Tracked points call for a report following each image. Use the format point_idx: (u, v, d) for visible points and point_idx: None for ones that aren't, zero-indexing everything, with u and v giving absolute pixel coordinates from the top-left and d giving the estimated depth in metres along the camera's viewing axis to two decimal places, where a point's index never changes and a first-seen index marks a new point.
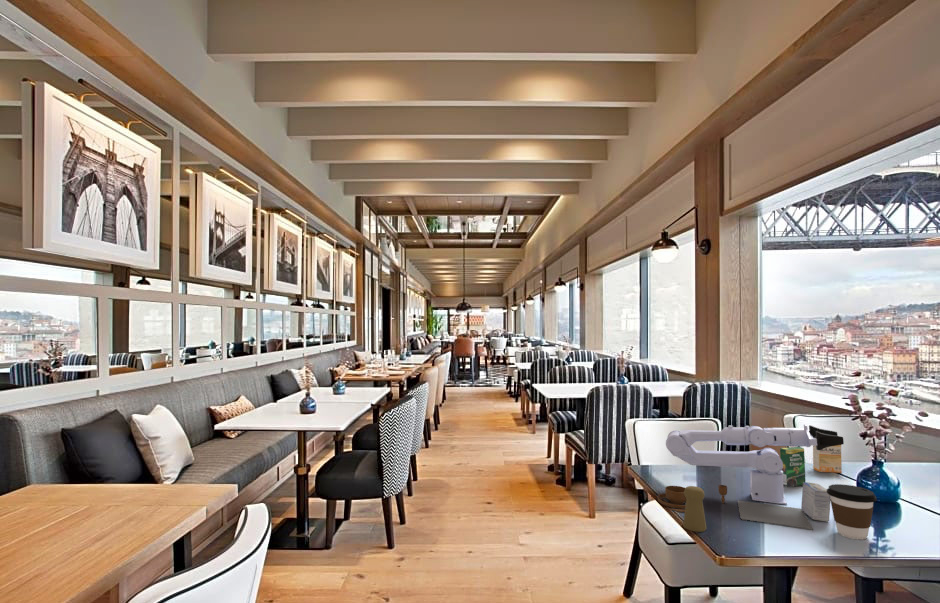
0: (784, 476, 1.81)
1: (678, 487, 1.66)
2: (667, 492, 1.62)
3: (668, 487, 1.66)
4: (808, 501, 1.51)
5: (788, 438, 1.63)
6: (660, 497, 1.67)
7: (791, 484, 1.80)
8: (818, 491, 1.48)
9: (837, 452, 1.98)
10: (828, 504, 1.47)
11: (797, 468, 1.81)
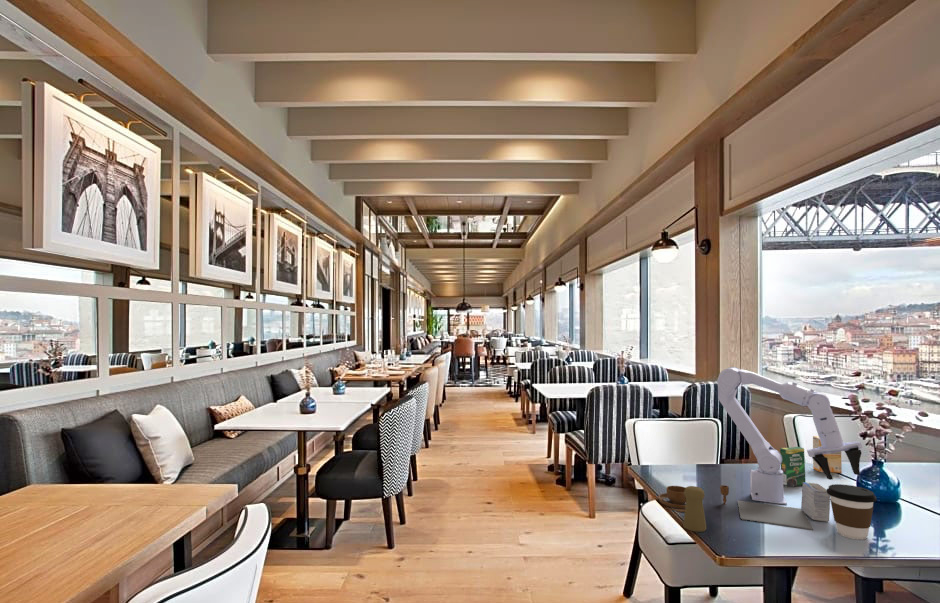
0: (784, 476, 1.81)
1: (679, 487, 1.66)
2: (668, 492, 1.62)
3: (669, 487, 1.66)
4: (808, 501, 1.51)
5: (827, 431, 1.56)
6: (661, 497, 1.67)
7: (791, 484, 1.80)
8: (818, 492, 1.48)
9: (837, 452, 1.98)
10: (828, 504, 1.47)
11: (797, 468, 1.81)
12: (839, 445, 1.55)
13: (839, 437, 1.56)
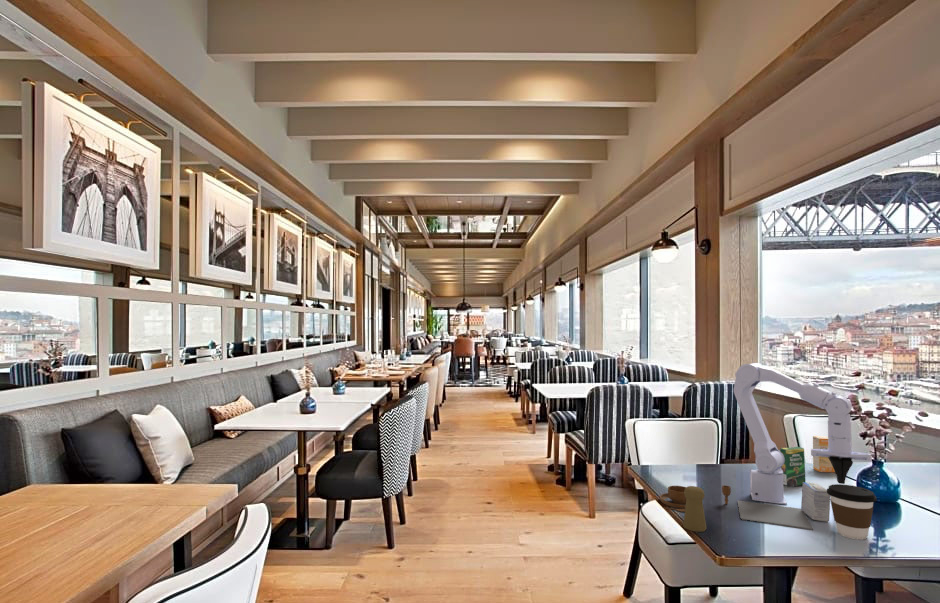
0: (784, 476, 1.81)
1: (681, 487, 1.66)
2: (669, 492, 1.62)
3: (671, 487, 1.66)
4: (808, 501, 1.51)
5: (837, 436, 1.52)
6: (663, 497, 1.67)
7: (791, 484, 1.80)
8: (818, 492, 1.48)
9: None
10: (828, 504, 1.47)
11: (797, 468, 1.81)
12: (845, 452, 1.51)
13: (848, 445, 1.51)
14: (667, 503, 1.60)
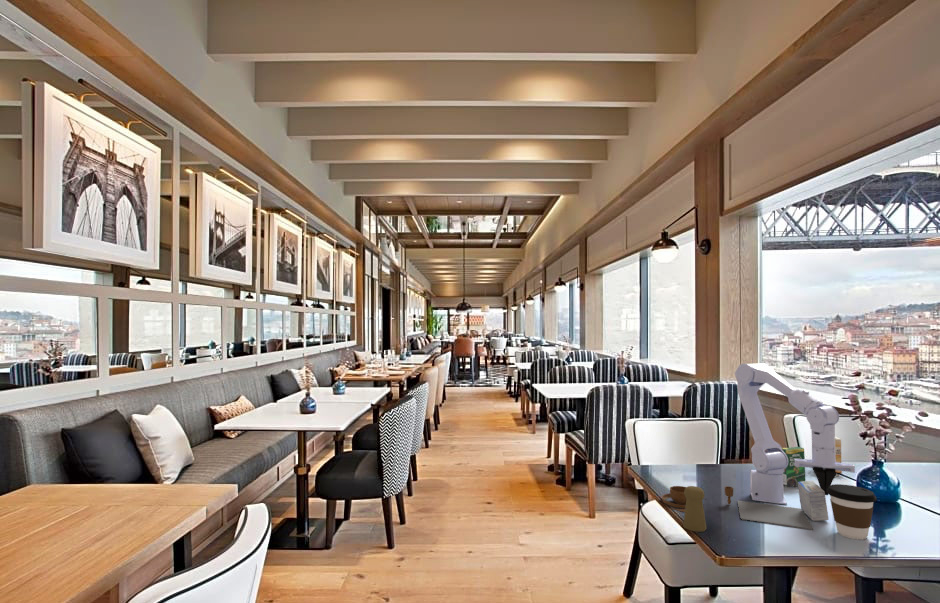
0: (784, 476, 1.81)
1: (683, 487, 1.66)
2: (671, 492, 1.63)
3: (673, 487, 1.66)
4: (805, 502, 1.51)
5: (817, 446, 1.50)
6: (665, 497, 1.67)
7: (791, 484, 1.80)
8: (812, 493, 1.48)
9: (837, 452, 1.98)
10: (824, 503, 1.47)
11: (797, 468, 1.81)
12: (828, 463, 1.48)
13: (831, 456, 1.48)
14: (669, 503, 1.60)
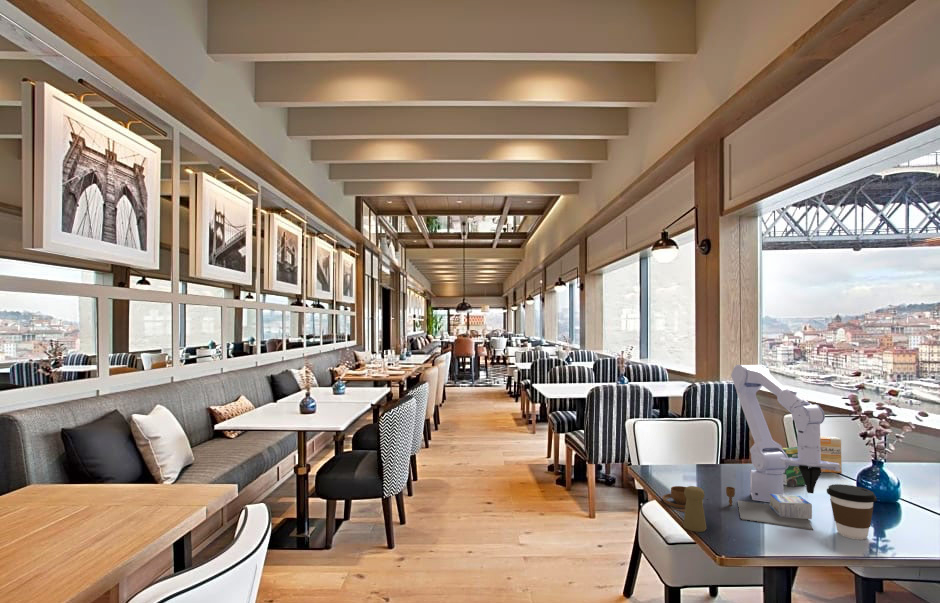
0: (784, 476, 1.81)
1: (684, 488, 1.66)
2: (672, 492, 1.62)
3: (674, 487, 1.66)
4: None
5: (801, 444, 1.52)
6: (666, 497, 1.67)
7: (791, 484, 1.80)
8: (781, 513, 1.50)
9: (837, 452, 1.98)
10: (793, 504, 1.49)
11: (797, 468, 1.81)
12: (813, 462, 1.50)
13: (816, 454, 1.50)
14: (669, 503, 1.60)
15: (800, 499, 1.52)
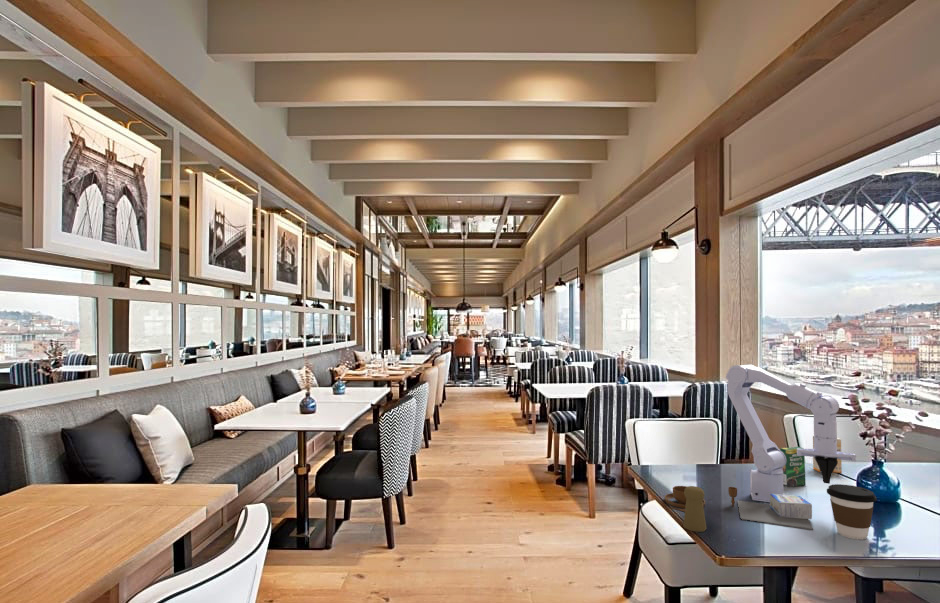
0: (784, 476, 1.81)
1: None
2: (674, 492, 1.63)
3: (676, 487, 1.66)
4: None
5: (821, 435, 1.53)
6: (668, 497, 1.67)
7: (791, 484, 1.80)
8: (781, 513, 1.50)
9: None
10: (793, 504, 1.49)
11: (797, 468, 1.81)
12: (829, 452, 1.52)
13: (833, 445, 1.52)
14: (671, 503, 1.60)
15: (800, 499, 1.52)
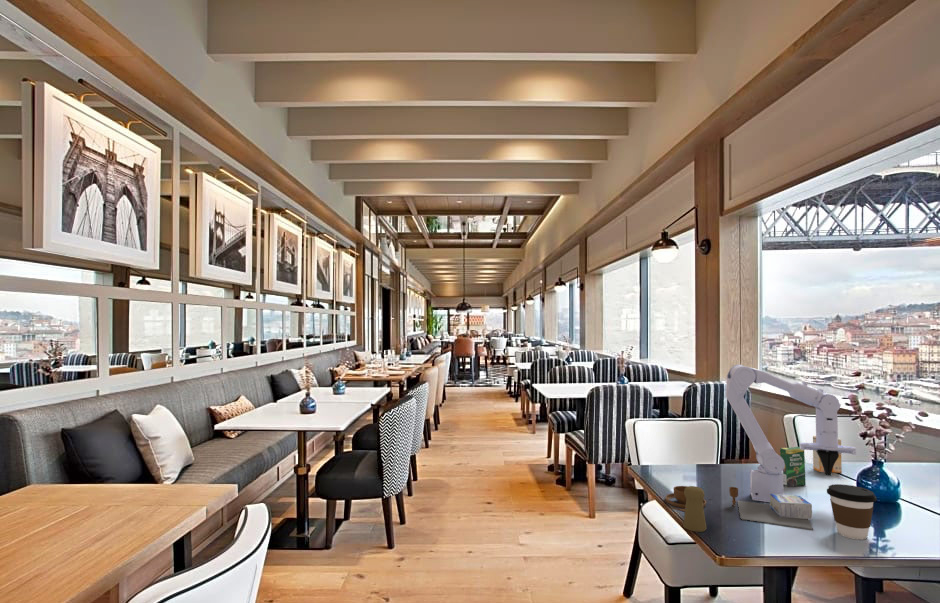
0: (784, 476, 1.81)
1: None
2: (675, 492, 1.63)
3: (677, 487, 1.66)
4: None
5: (830, 431, 1.60)
6: (669, 497, 1.67)
7: (791, 484, 1.80)
8: (781, 513, 1.50)
9: None
10: (793, 504, 1.49)
11: (797, 468, 1.81)
12: (831, 446, 1.60)
13: (834, 439, 1.60)
14: (672, 503, 1.60)
15: (800, 499, 1.52)
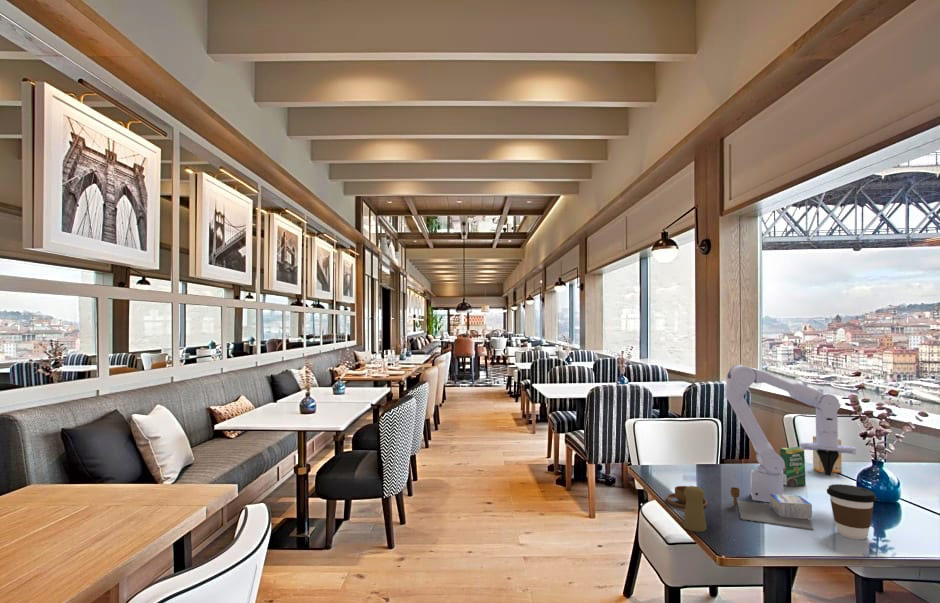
0: (784, 476, 1.81)
1: None
2: (676, 492, 1.63)
3: (678, 487, 1.66)
4: None
5: (830, 431, 1.60)
6: (670, 497, 1.67)
7: (791, 484, 1.80)
8: (781, 513, 1.50)
9: None
10: (793, 504, 1.49)
11: (797, 468, 1.81)
12: (831, 446, 1.60)
13: (834, 439, 1.60)
14: (672, 503, 1.60)
15: (800, 499, 1.52)
